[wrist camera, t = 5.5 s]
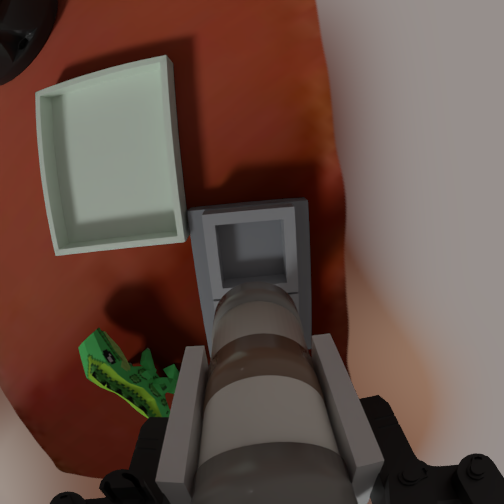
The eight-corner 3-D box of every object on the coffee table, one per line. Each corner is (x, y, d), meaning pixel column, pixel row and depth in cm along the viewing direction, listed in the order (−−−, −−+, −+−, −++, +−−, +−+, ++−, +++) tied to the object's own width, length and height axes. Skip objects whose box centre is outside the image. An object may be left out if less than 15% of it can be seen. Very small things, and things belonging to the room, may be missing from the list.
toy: (135, 310, 38) (83, 328, 28) (215, 409, 36) (183, 454, 26) (108, 335, 39) (57, 356, 29) (182, 428, 37) (147, 470, 27)
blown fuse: (208, 285, 16) (165, 511, 5) (296, 277, 16) (379, 492, 5) (220, 356, 18) (206, 562, 6) (298, 349, 18) (349, 549, 6)
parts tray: (50, 95, 27) (35, 92, 24) (173, 63, 27) (166, 55, 24) (68, 247, 32) (55, 255, 29) (190, 233, 32) (184, 242, 29)
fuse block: (190, 207, 31) (153, 249, 18) (303, 197, 31) (348, 231, 18) (211, 348, 36) (199, 441, 22) (308, 339, 36) (337, 428, 23)
